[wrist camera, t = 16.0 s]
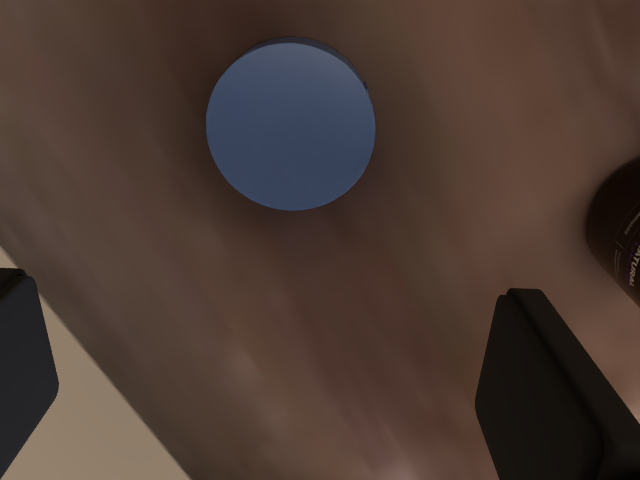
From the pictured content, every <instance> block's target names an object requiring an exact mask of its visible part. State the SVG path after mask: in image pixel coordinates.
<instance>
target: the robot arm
mask: <svg viewBox="0 0 640 480" xmlns="http://www.w3.org/2000/svg"><path fill="white" fill-rule="evenodd" d="M58 386H59V382H58V377H57V372H56V368H55V364H54V359H53V355H52V351H51V346H50V342H49V338H48V334H47V329H46V325H45V321H44V317H43V312H42V308H41V304H40V299H39V295H38V291H37V286H36V283H35V280H34V279H33V277H31V276H27V274H26V272H25V271H24V270H22V269H16V268H0V479H1V478H2V476H3V475H4V473H5V472H6V470H7V469H8V467H9V466H10V465H11V463H12V461H13V460H14V459H15V457H16V456H17V454H18V453H19V451H20V450H21V448H22V447H23V445H24V444H25V442H26V441H27V440H28V438H29V436H30V435H31V434H32V432H33V431H34V429H35V428H36V426H37V425H38V423H39V422H40V420H41V419H42V418H43V416H44V414H45V413H46V411H47V410H48V409H49V407H50V406H51V404H52V403H53V401H54V400H55V398H56V396H57V393H58V388H59V387H58ZM475 409H476V415H477V418H478V421H479V424H480V426H481V429H482V432H483V435H484V438H485V440H486V443H487V446H488V449H489V452H490V454H491V457H492V460H493V463H494V465H495V468H496V471H497V474H498V477H499V479H500V480H640V424H639V423H638V421H637V420H636V418H635V417H634V416H633V414H632V413H631V412H630V410H629V409H628V408H627V406H626V405H625V403H624V402H623V401H622V399H621V398H620V397H619V395H618V394H617V393H616V391H615V390H614V389H613V387H612V386H611V384H610V383H609V382H608V380H607V379H606V378H605V376H604V375H603V374H602V372H601V371H600V369H599V368H598V367H597V365H596V364H595V363H594V361H593V360H592V359H591V357H590V356H589V354H588V353H587V352H586V350H585V349H584V348H583V346H582V345H581V344H580V342H579V341H578V339H577V338H576V337H575V335H574V334H573V333H572V331H571V330H570V329H569V327H568V326H567V324H566V323H565V322H564V320H563V319H562V318H561V316H560V315H559V314H558V312H557V311H556V309H555V308H554V307H553V305H552V304H551V303H550V301H549V300H548V299H547V297H546V296H545V294H544V293H543V292H542V291H541V290H539V289H521V288H510V289H509V290H508V291H507V293H506V295H500V296H499V297H498V298H497V302H496V306H495V311H494V315H493V320H492V324H491V329H490V333H489V338H488V342H487V347H486V352H485V356H484V361H483V365H482V370H481V374H480V379H479V384H478V388H477V393H476V398H475Z"/></svg>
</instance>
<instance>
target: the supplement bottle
mask: <svg viewBox="0 0 640 480" xmlns="http://www.w3.org/2000/svg"><path fill="white" fill-rule="evenodd" d="M588 238H589V243H590V247H591V250H592V253H593V254H594V256H595V258H596V259H597V261H598V262H599V264H600V265H601V266H602V267H603V268H604V269H605V270H606V272H607V273H608V274H609V275H610V276H611V277H612V278H613V279H614V281H615V282H616V283H617V284H618V285H619V286H620V287H621V288H622V289H623V290H624V291H625V293H626V294H627V295H628V296H629V297H630V298H631V299H632V300H633V301H634V302H635V303H636V304H637V306H638V307H639V308H640V161H639V162H637V163H636V164H634V165H632V166H630V167H629V168H627V169H626V170H625V171H623V172H622V173H621V174H619V175H618V176H617V177H616V178H615V179H614V180H613V181H612V182H611V183H610V184H609V185H608V186H607V187H606V188H605V190H604V191H603V192H602V194H601V195H600V197H599V198H598V200H597V202H596V204H595V206H594V208H593V210H592V213H591V216H590V220H589V227H588Z"/></svg>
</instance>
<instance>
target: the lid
mask: <svg viewBox="0 0 640 480" xmlns="http://www.w3.org/2000/svg"><path fill="white" fill-rule="evenodd" d="M368 91H369V89H368V87H367V84H366V82H363V80H362V79H361V77H360V75H359V73H358V72H357V71H356V69H355V68H354V67H353V65H352V64H351V63H350V62H349V61H348V60H347V59H346V58H345V57H344V56H343V55H341V54H340V53H339V52H337V51H336V50H335V49H333V48H331V47H329V46H328V45H326V44H323V43H321V42H318V41H316V40H312V39H308V38H302V37H281V38H275V39H271V40H268V41H265V42H262V43H260V44H258V45H256V46H254V47H252V48H251V49H249V50H248V51H246V52H245V53H244V54H243V55H242V56H240V57H239V58H238V59H237V60H236V61H235V62H234V63H233V64H232V65H230V66H229V67H228V68H227V70H226V71H225V72H224V73H223V74H222V76H221V77H220V78H219V80H218V82H217V83H216V85H215V87H214V89H213V91H212V94H211V96H210V99H209V103H208V106H207V113H206V136H207V142H208V146H209V149H210V152H211V155H212V157H213V160H214V162H215V164H216V165H217V167H218V169H219V171H220V172H221V173H222V175H223V176H224V177H225V179H226V180H227V181H228V182H229V183H230V184H231V185H232V186H233V187H234V188H235V189H236V190H237V191H239V192H240V193H241V194H243V195H244V196H246V197H247V198H249V199H250V200H252V201H254V202H257V203H259V204H261V205H264V206H267V207H270V208H274V209H279V210H288V211H296V210H306V209H312V208H316V207H319V206H322V205H324V204H327V203H329V202H331V201H333V200H335V199H337V198H338V197H340V196H341V195H342V194H344V193H345V192H347V191H348V190H349V189H350V188H351V187H352V186H353V185H354V184H355V183H356V181H357V180H358V179H359V178H360V176H361V175H362V173H363V172H364V170H365V168H366V167H367V164H368V162H369V160H370V158H371V154H372V151H373V148H374V141H375V128H376V125H375V116H374V111H373V107H372V103H371V100H370V98H369V95H368Z"/></svg>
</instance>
